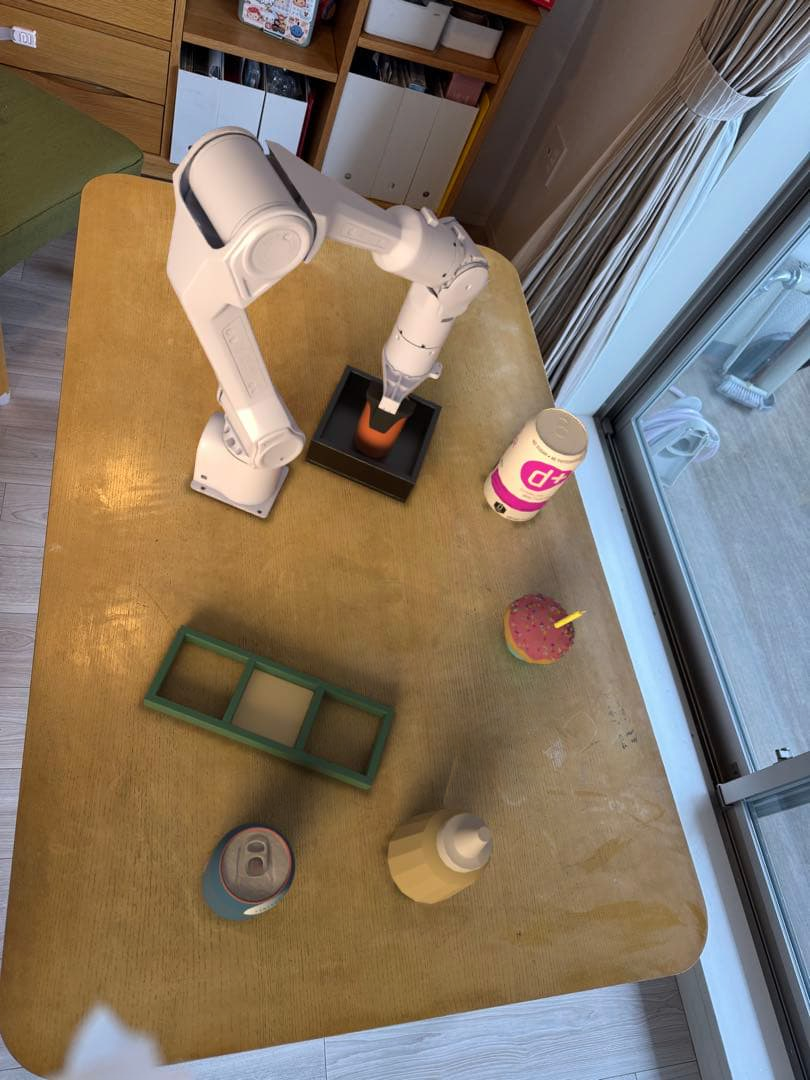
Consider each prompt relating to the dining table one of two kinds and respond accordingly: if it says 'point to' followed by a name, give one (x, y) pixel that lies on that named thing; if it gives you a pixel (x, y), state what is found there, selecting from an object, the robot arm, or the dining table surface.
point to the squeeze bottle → (439, 853)
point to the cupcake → (539, 629)
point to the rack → (272, 707)
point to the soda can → (248, 872)
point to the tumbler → (375, 436)
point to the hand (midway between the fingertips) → (386, 406)
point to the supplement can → (536, 464)
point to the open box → (344, 459)
